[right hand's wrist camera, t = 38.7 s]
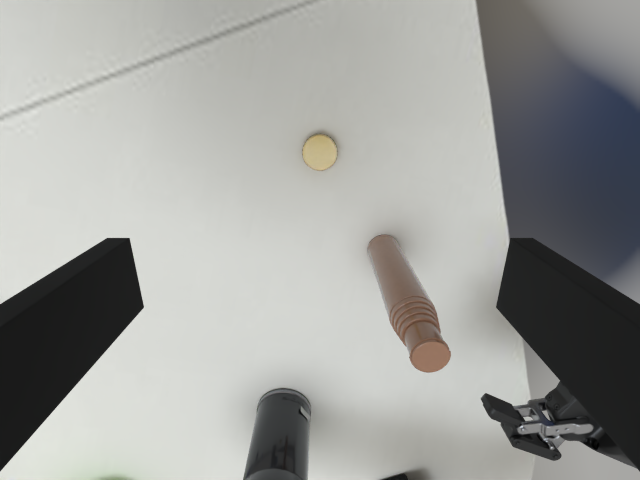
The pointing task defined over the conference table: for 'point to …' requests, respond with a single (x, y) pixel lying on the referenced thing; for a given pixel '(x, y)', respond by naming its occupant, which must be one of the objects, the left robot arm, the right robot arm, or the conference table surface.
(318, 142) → the cap
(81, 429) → the conference table surface
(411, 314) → the bottle
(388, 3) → the conference table surface
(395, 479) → the black angled piece
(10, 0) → the conference table surface
